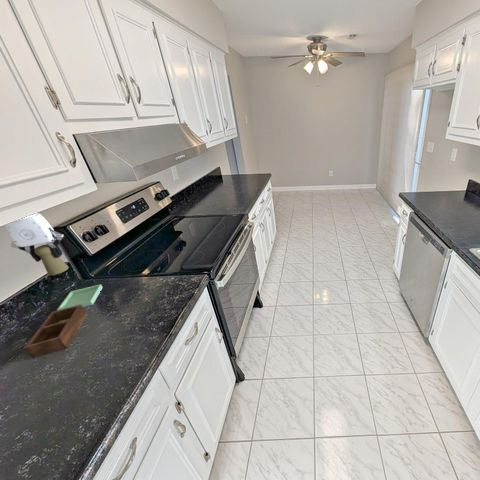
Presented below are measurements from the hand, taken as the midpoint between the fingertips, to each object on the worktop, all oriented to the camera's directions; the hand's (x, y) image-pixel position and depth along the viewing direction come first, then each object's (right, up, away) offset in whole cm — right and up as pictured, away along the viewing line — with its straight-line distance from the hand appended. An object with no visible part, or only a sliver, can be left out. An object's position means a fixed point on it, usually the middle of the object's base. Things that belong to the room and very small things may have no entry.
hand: (49, 257), depth 95 cm
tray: (+1, -19, +12) cm, 23 cm away
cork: (0, -5, +3) cm, 6 cm away
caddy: (+9, -27, -4) cm, 29 cm away
